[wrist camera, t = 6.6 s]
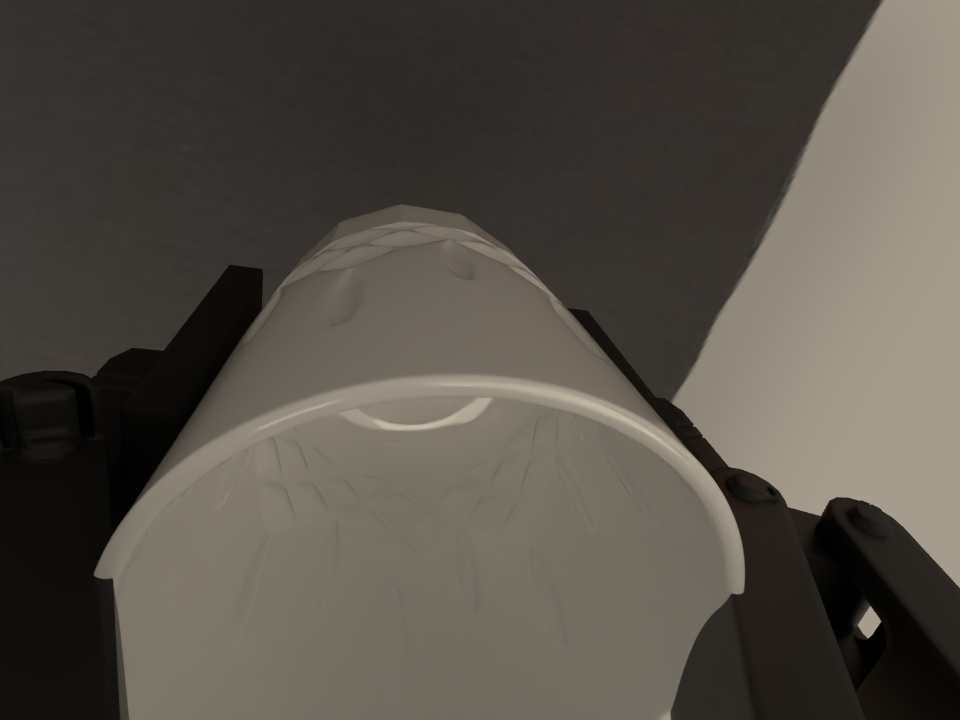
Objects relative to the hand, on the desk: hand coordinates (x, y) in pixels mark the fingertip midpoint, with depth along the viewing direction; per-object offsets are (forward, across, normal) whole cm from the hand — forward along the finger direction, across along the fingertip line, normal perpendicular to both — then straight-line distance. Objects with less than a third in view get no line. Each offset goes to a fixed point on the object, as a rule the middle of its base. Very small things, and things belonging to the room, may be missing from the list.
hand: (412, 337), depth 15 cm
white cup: (+1, 0, 0) cm, 1 cm away
